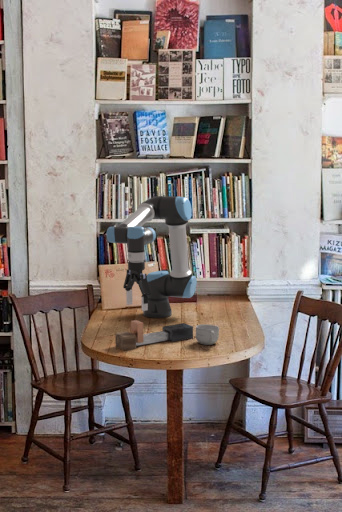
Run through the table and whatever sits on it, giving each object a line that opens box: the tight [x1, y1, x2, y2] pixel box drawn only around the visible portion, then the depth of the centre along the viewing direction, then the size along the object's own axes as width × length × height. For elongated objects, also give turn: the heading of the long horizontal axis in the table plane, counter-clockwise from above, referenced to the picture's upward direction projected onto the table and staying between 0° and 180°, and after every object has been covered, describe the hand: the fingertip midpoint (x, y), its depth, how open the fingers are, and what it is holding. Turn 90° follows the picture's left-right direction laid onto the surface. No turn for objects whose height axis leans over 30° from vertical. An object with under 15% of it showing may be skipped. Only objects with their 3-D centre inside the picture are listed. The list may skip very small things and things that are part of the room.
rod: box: [130, 319, 170, 347], centre depth 340 cm, size 6×28×11 cm, turn 123°
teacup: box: [195, 323, 220, 346], centre depth 337 cm, size 14×11×8 cm
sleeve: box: [161, 322, 194, 343], centre depth 348 cm, size 8×12×6 cm, turn 123°
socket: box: [114, 330, 137, 352], centre depth 333 cm, size 8×6×6 cm
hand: (137, 307), depth 334 cm, fingers open, 13 cm apart
